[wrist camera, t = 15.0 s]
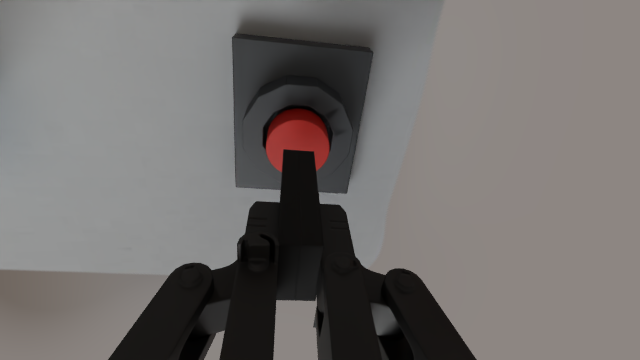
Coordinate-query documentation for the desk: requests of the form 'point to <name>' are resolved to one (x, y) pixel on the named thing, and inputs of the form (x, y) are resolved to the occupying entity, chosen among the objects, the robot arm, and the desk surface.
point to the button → (297, 136)
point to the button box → (296, 102)
